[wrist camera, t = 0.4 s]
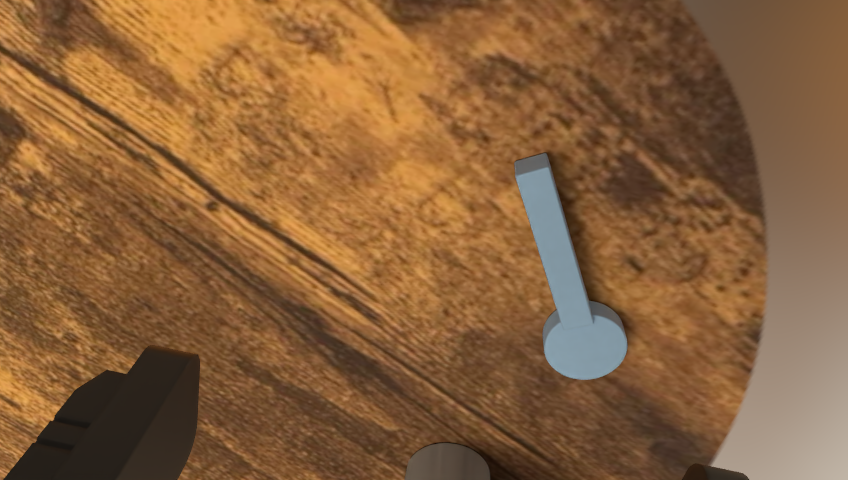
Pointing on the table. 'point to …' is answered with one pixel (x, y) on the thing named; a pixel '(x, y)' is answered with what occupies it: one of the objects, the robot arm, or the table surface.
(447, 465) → the cup
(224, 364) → the table surface
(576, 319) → the spoon
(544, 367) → the table surface
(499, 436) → the table surface
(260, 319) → the table surface
